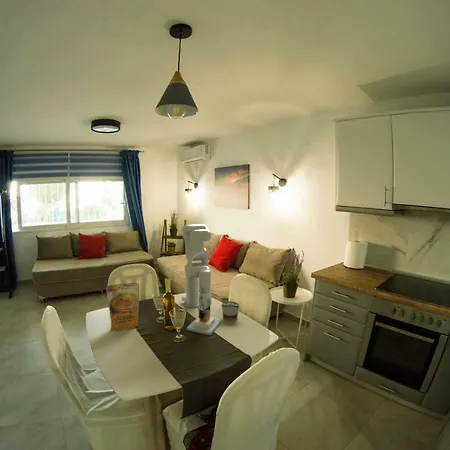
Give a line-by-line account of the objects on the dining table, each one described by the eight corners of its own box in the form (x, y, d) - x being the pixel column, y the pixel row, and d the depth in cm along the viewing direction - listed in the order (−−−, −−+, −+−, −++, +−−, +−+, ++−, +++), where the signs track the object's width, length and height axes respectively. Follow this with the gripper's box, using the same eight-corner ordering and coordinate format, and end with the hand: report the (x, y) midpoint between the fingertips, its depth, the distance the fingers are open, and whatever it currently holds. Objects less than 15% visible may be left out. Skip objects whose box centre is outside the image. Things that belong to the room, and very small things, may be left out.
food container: (239, 315, 198) (240, 301, 196) (239, 319, 192) (239, 305, 190) (221, 314, 199) (222, 300, 198) (220, 318, 193) (221, 304, 192)
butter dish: (186, 330, 177) (186, 323, 177) (199, 317, 194) (199, 311, 193) (210, 335, 172) (210, 328, 171) (221, 321, 188) (221, 316, 188)
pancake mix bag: (108, 327, 179) (106, 284, 175) (140, 322, 186) (138, 281, 181) (107, 332, 173) (105, 288, 169) (140, 327, 179) (139, 284, 175)
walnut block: (199, 320, 181) (199, 311, 180) (202, 317, 185) (202, 308, 185) (206, 322, 179) (206, 313, 178) (209, 318, 184) (210, 309, 183)
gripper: (204, 294, 170) (204, 322, 172) (215, 285, 186) (215, 310, 188) (193, 293, 172) (193, 319, 175) (205, 283, 188) (205, 308, 191)
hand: (204, 314), depth 182 cm, fingers open, 9 cm apart
